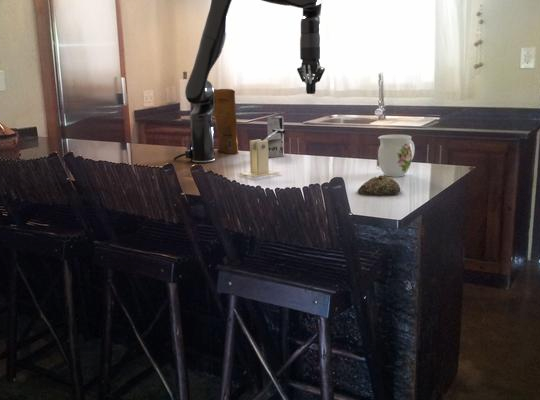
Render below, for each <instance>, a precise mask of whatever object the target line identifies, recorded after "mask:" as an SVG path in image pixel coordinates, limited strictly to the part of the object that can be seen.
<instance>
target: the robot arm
mask: <svg viewBox="0 0 540 400" xmlns="http://www.w3.org/2000/svg"><path fill="white" fill-rule="evenodd" d="M232 1H233V0H211V1H210V5H209V11H208V13H207V16H206V20H205V24H204V27H203V30H202V34H201V37H200V40H199V46H198V49H197V52H196V57H195V60H194V63H193V66H192V69H191V73H190V75H189V78H188V80H187V83H186V85H185V91H184V95H185V98H186V100H187V102H188V103H190V104H192V105H194V106H193V110H192V111H191V112H190V114H189V123H190V126H189V127H190V138H189V140H188V141H189V149H187V150H185V151H184V153H180V154H178V155H176V156H175V157H173V160H174V161H176V160H178V159H180V158H181V157H185V159H189V161H190V162H192V163H195V164H205V163H206V164H207V163H212V162H215V161H216V158H215V156H216V152H215V139H214V119H213V118H214V114H213V113H214V89H215V88H214V86H213V84H212V82H211V81H209V80H208V79H209V75H210V72H211V70H212V69H213V67H214V65H216V63H217V61H218V60H219V58H220V56H221V54H222V52H223V49H224V46H225V42H226V39H227V34H228V14H229V9H230V6H231V4H232ZM261 1H262V2H266V3H270V4H274V5H280V6H289V7H294V8H299V9H302V18H301V19H300V36H299V58H300V60H301V66H300V67H297V68H296V71H297V74H298V75H299V78H300V80H301V82H303V83H305V92H306V94H307V95H315V94H316V88H317V87H316V84H317V83H319V82H321V79H322V77H323V75H324V73H325V70H326V67H322V66H321V62H320V59H321V58H322V37H321V15H322V3H323V2H322V0H261Z"/></svg>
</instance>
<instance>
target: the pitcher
mask: <svg viewBox="0 0 540 400" xmlns="http://www.w3.org/2000/svg"><path fill="white" fill-rule="evenodd" d="M377 139H378V140H379V141H380V145H379V147H378V151H377V157H378V158H377V160H378V164H379V167H380V170H381V172H382V173H383V176H386V177H390V178H392V177H395V178H396V177H404V176H405V175H406V174H407V173H408V171H409V169H410V167H411V164H412V161H413V159H414V157H415V148H416V146H415V143H414V141H413V140H412V136H411V135H408V134H384V135H383V134H382V135H379V136H378V137H377Z"/></svg>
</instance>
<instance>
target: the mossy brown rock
mask: <svg viewBox="0 0 540 400" xmlns="http://www.w3.org/2000/svg"><path fill="white" fill-rule="evenodd" d="M401 189H402V188H401V187H400V184H399V183H398V182H397V181H396V180H395V179H393V178H392V177H390V176H386V175H378V177H376V176H373V177H371V178H370V179H369V180H367V181H365V182H364V183H363V184H362V185H360V187H359V188H358V189H357V193H358V194H360V195H368V196H396V195H399V193H401Z"/></svg>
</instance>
